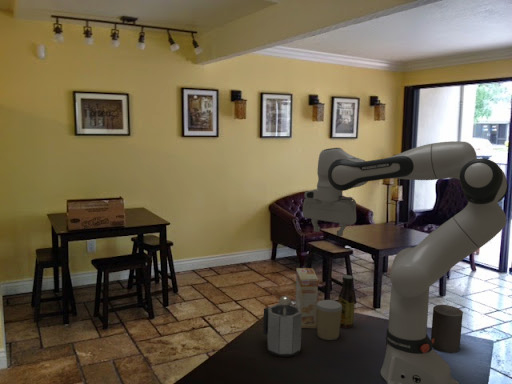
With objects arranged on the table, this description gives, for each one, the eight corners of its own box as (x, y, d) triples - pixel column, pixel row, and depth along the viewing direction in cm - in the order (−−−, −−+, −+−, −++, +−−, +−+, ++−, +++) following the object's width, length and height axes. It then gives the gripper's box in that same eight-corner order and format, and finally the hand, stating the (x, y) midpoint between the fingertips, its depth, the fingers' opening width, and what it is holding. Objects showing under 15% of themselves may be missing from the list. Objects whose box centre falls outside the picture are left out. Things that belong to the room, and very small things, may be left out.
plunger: (299, 336, 154) (300, 296, 153) (285, 343, 149) (286, 301, 147) (282, 329, 160) (283, 290, 158) (268, 336, 154) (269, 296, 152)
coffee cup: (339, 330, 170) (341, 300, 169) (342, 341, 161) (343, 309, 160) (315, 329, 171) (316, 298, 170) (315, 340, 162) (317, 308, 161)
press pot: (306, 348, 155) (307, 310, 153) (286, 360, 147) (287, 319, 145) (275, 336, 165) (276, 299, 163) (254, 346, 156) (255, 308, 155)
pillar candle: (424, 343, 160) (427, 303, 158) (443, 338, 165) (446, 299, 163) (446, 356, 152) (450, 313, 150) (466, 350, 156) (469, 308, 154)
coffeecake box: (317, 328, 172) (318, 279, 169) (298, 328, 172) (299, 279, 169) (311, 313, 187) (313, 267, 184) (294, 313, 187) (295, 267, 184)
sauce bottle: (334, 323, 177) (336, 274, 175) (348, 321, 179) (350, 273, 177) (342, 329, 171) (344, 279, 169) (356, 328, 173) (358, 278, 170)
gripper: (360, 196, 151) (358, 237, 153) (311, 191, 165) (309, 228, 167) (351, 198, 147) (349, 240, 148) (300, 192, 160) (299, 230, 162)
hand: (328, 233), depth 158 cm, fingers open, 8 cm apart
